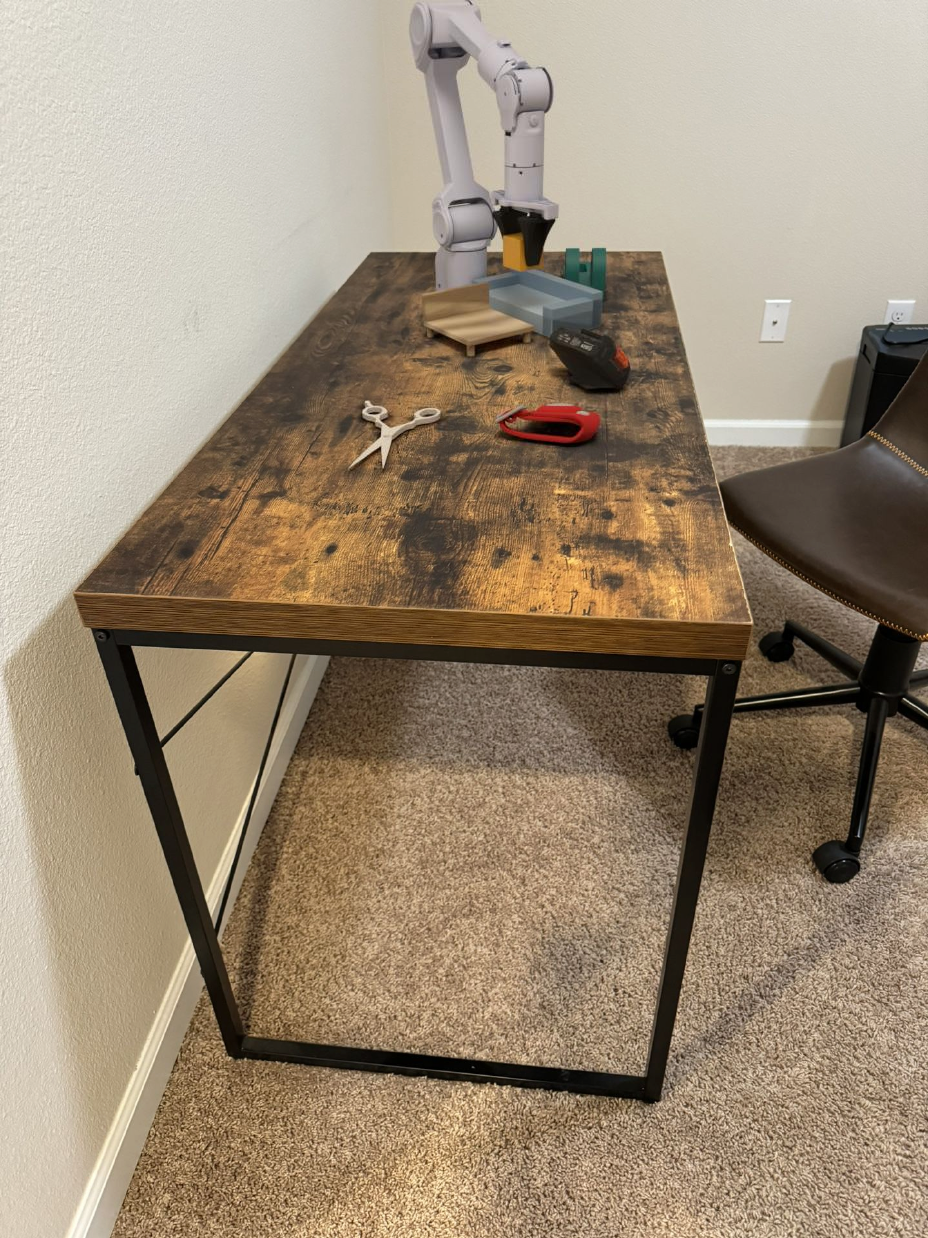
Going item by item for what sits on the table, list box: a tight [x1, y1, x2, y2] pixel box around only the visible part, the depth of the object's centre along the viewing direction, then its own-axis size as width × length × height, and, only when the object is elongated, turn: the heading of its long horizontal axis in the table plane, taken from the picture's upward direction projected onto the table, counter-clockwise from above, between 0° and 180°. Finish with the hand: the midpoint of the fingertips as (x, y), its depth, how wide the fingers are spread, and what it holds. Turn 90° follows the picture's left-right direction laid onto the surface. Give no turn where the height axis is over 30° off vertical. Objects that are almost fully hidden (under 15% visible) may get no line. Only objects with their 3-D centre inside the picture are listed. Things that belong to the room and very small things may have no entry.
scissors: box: [348, 400, 441, 469], centre depth 112 cm, size 11×1×20 cm
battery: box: [548, 326, 632, 391], centre depth 124 cm, size 12×8×7 cm
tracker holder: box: [494, 402, 601, 444], centre depth 111 cm, size 12×4×10 cm
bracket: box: [562, 247, 607, 302], centre depth 163 cm, size 18×7×8 cm, turn 176°
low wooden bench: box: [421, 281, 534, 358], centre depth 141 cm, size 13×12×6 cm
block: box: [502, 232, 545, 272], centre depth 140 cm, size 4×4×4 cm
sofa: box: [472, 269, 603, 339], centre depth 150 cm, size 22×10×6 cm, turn 33°
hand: (522, 261), depth 141 cm, fingers closed on block, 4 cm apart
